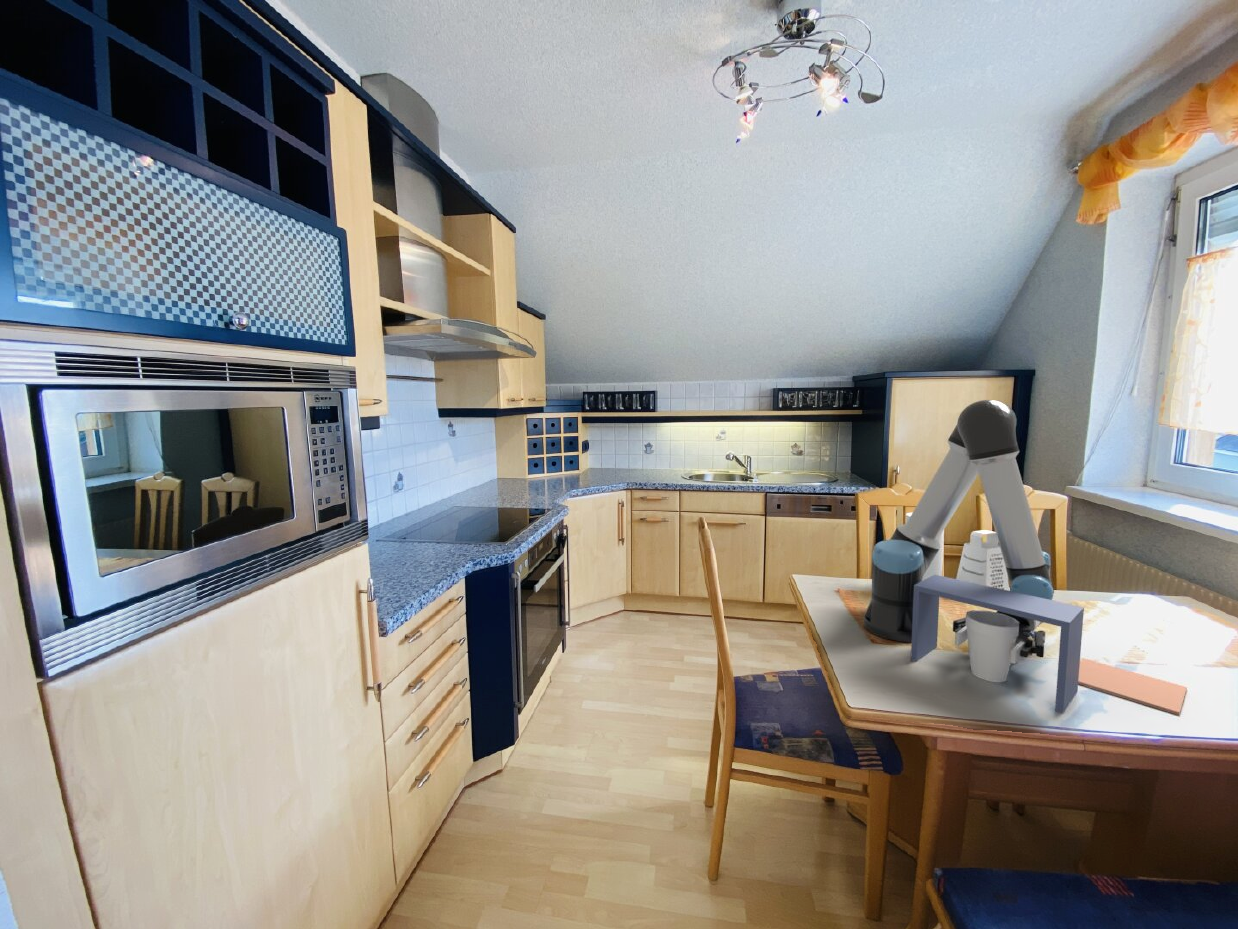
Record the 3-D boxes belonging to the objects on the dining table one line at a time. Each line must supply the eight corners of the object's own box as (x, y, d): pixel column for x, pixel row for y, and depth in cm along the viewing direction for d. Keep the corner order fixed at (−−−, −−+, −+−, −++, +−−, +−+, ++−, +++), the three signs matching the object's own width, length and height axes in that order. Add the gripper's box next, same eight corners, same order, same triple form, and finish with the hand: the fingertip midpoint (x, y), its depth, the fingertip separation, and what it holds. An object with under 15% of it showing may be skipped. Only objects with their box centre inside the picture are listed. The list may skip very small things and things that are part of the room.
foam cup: (998, 690, 104) (1002, 630, 103) (953, 669, 113) (956, 614, 111) (1025, 679, 108) (1028, 622, 107) (979, 660, 116) (982, 607, 115)
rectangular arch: (910, 659, 117) (913, 585, 116) (931, 645, 125) (934, 574, 123) (1063, 713, 96) (1069, 622, 94) (1077, 691, 103) (1083, 607, 101)
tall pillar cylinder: (901, 583, 170) (904, 511, 168) (938, 587, 165) (941, 513, 163) (904, 593, 160) (907, 517, 158) (943, 597, 156) (947, 519, 153)
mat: (1068, 680, 107) (1068, 678, 107) (1082, 660, 116) (1083, 658, 116) (1179, 715, 94) (1179, 712, 94) (1186, 689, 103) (1186, 687, 103)
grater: (1010, 596, 156) (1013, 534, 155) (985, 600, 153) (989, 537, 151) (977, 585, 166) (980, 527, 164) (953, 589, 163) (956, 529, 161)
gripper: (1075, 652, 112) (1048, 686, 98) (962, 621, 129) (926, 646, 116) (1077, 620, 111) (1051, 650, 98) (963, 593, 129) (927, 615, 115)
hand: (983, 648), depth 107 cm, fingers closed on foam cup, 9 cm apart
